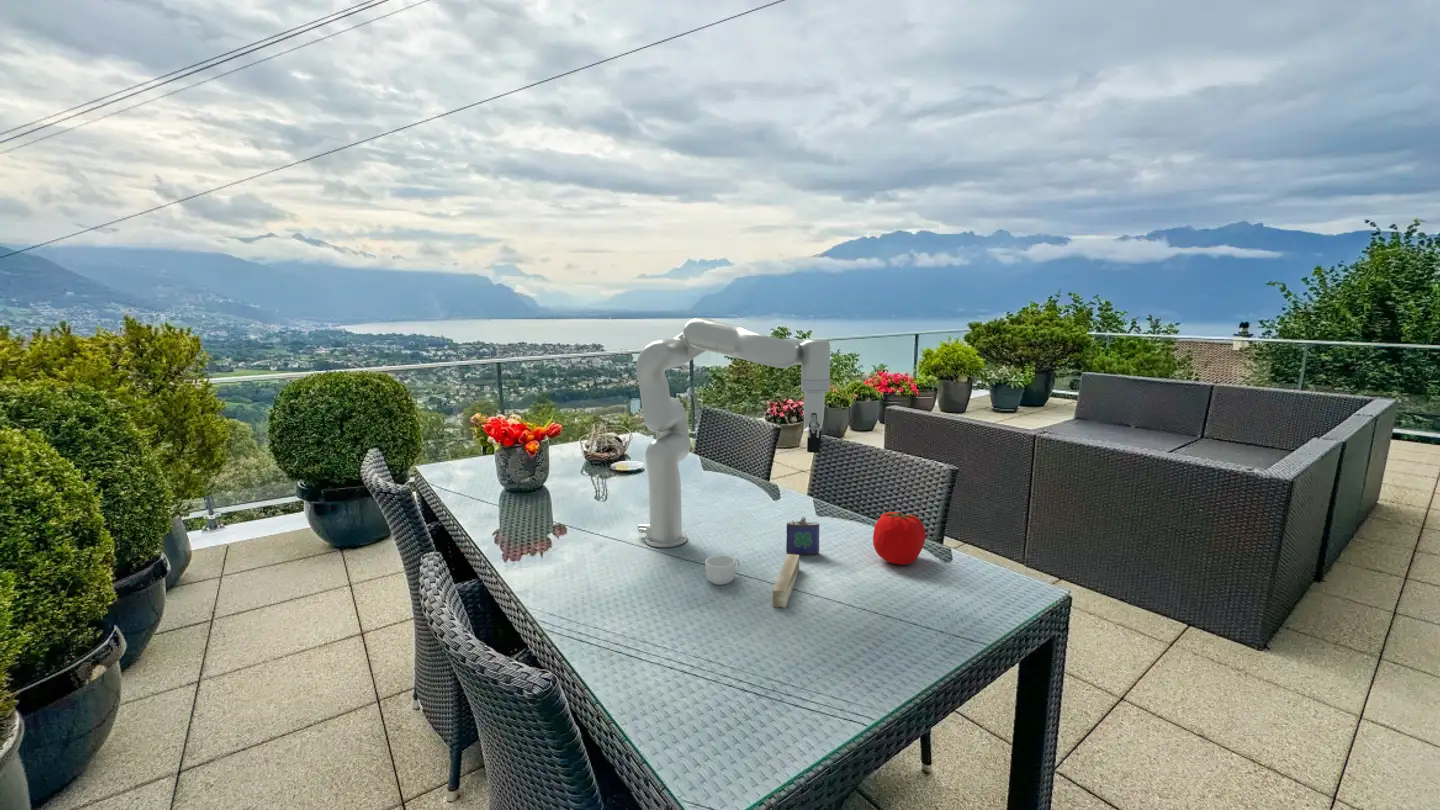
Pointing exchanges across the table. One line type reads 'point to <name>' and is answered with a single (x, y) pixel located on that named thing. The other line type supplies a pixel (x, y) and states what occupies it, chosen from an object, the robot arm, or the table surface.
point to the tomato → (898, 537)
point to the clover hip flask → (802, 537)
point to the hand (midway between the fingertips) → (814, 448)
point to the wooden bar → (785, 581)
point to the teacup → (721, 568)
